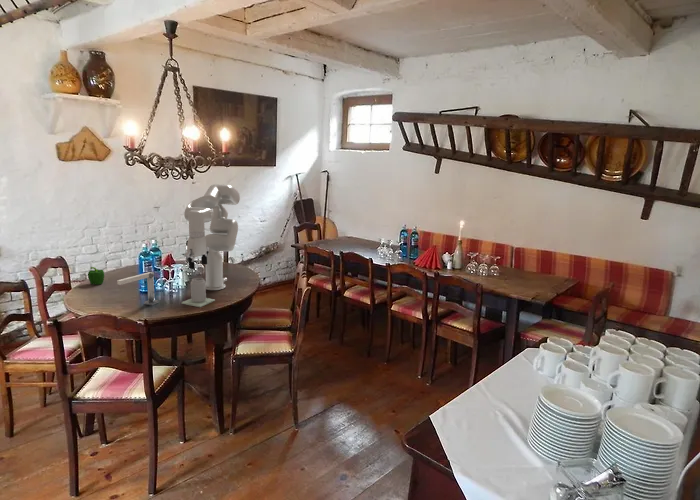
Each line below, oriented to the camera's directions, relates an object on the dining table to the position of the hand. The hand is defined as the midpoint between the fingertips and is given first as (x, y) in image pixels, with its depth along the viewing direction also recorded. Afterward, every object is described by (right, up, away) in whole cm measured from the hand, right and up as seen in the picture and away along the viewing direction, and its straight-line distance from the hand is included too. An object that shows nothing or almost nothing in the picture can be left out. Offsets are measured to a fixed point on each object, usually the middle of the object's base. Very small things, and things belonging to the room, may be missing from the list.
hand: (198, 266), depth 235 cm
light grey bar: (-26, -6, -12) cm, 30 cm away
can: (-1, -19, +3) cm, 19 cm away
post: (-23, -19, -2) cm, 30 cm away
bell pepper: (-67, -11, +26) cm, 72 cm away
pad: (-1, -19, +3) cm, 19 cm away
